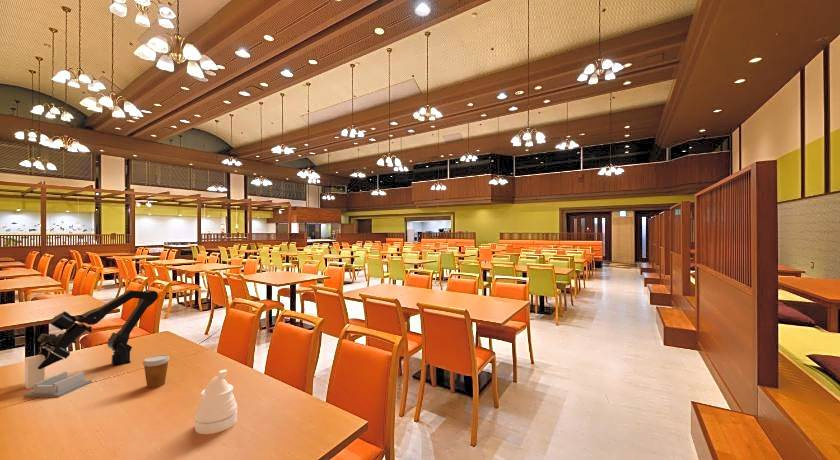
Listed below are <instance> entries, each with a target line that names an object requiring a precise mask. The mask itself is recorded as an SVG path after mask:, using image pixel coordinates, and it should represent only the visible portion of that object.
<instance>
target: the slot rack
mask: <svg viewBox="0 0 840 460" xmlns="http://www.w3.org/2000/svg"><path fill="white" fill-rule="evenodd" d="M92 383H93V380H92V379H85V371H81V372H79V373H76V374H73V375H71V376H69V377H68V371H64V372H61V373H58V374H56V375H53V376H51V377H48V378H44V380H42V381H40V382H37V383H35V384H34V387H33V390H32V391H30V392H28V393H26V394H24V397H25V398H61V397H62V396H65V395H67V394H69V393H71V392H73V391H76V390H78V389H81V388H84V387H85V386H86V385H90V384H92Z"/></svg>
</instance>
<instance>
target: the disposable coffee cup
mask: <svg viewBox="0 0 840 460" xmlns="http://www.w3.org/2000/svg"><path fill="white" fill-rule="evenodd" d="M170 359H171V358H170V357H169V355H168V354H156V355H150V356H148V357H146V358H145V359H144V360H143V362H142V365H143V368H144V374H145V382H146V388H148V389H154V388H159V387H162V386H163V385H165V383H166V378H167V373H168V366H169V361H170Z"/></svg>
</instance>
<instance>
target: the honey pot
mask: <svg viewBox="0 0 840 460" xmlns="http://www.w3.org/2000/svg"><path fill="white" fill-rule="evenodd" d="M218 374H219V375H216V376H214V377H213V378H212V379H211V380H209V382H208V384H207V386H206V387H205V388H204V389H203V390H202V391H201V392H200V396H201V398H200V400H199V402H198V405H197V409H196V411H195V413H194V414H195V415H194V416H195V417H194V419H195V420H194V430H195V432H196V433H197V434H199V435H200V434H201V435H210V434H212V435H213V434H217V433H220V432H223V431H226V430H228V429H229V428H231V427H233V426H234V425H235V424H236V423H237V420H238V403H237V402H236V398H235V395H234V393H233V391H234V386H233V385H232V384H230V383H228V382H227V381H226V379H225V378H224V377H225V376H226V375H227V374H228V369H222V370H219V371H218Z"/></svg>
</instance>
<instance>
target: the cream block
mask: <svg viewBox="0 0 840 460" xmlns="http://www.w3.org/2000/svg"><path fill="white" fill-rule="evenodd" d="M44 360H45V356H44V355H42V354H41V355H38V354H37V355H33V356H28V357H24V387H25V389H32V388H34V384H35V383H37V382H40V381H42V380H45V368H46V367H44V368H42V369H38V367H39V366H40V364H41V363H42V362H43V361H44Z"/></svg>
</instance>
